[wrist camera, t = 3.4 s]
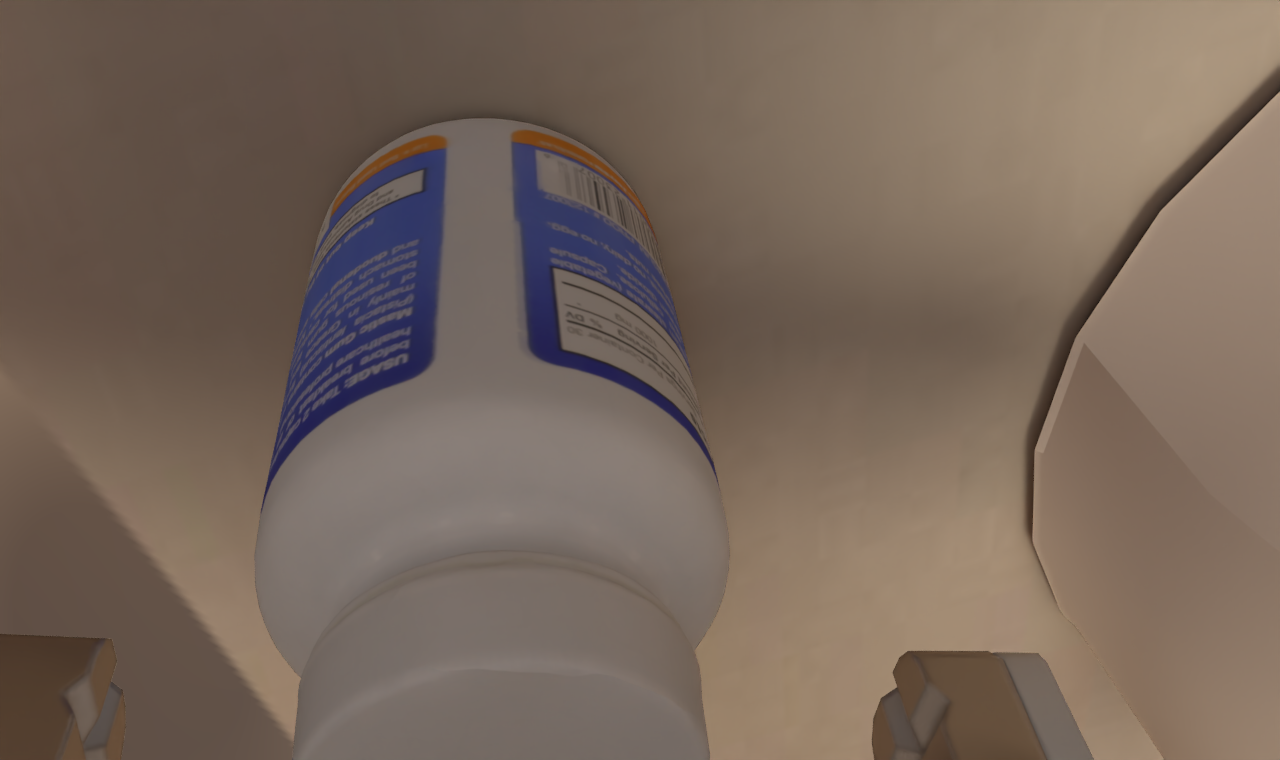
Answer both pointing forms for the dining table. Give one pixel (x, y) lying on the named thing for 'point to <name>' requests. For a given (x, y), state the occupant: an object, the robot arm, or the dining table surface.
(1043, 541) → the kettle
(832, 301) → the dining table surface
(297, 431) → the pill bottle
